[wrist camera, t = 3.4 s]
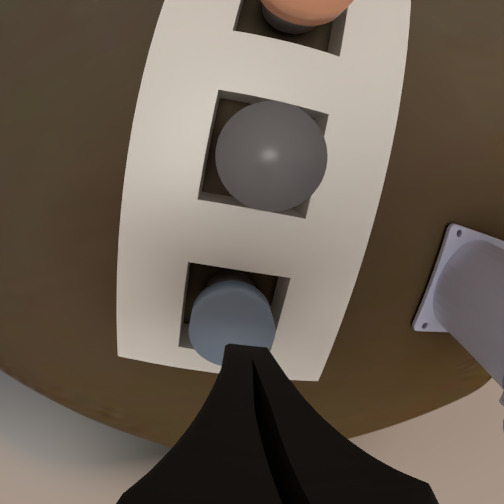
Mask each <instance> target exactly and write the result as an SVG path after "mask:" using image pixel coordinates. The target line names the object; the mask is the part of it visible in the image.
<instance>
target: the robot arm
mask: <svg viewBox="0 0 504 504" xmlns="http://www.w3.org/2000/svg"><path fill="white" fill-rule="evenodd" d="M458 230H459V232H458V234H457V231H458ZM424 323H425V324H424ZM423 324H424V325H423ZM422 325H423V326H422ZM412 327H413V329H414V330H415V331H428V332H449V333H450V334H451V335H452V336H453V337H454V338H455V339H456V340H457V341H458V342H459V343H460V344H461V345H462V346H463V347H464V348H465V349H466V350H467V351H468V352H469V353H470V354H471V355H472V356H473V357H474V358H475V360H476V361H477V362H478V363H479V364H480V365H481V366H482V367H483V368H484V369H485V370H486V371H487V372H488V373H489V374H490V375H491V377H492V378H493V379H494V380H495V381H496V382H497V383H498V384H499V385H500V386H501V387H502V388H503V389H504V241H502V240H500V239H497V238H494V237H492V236H489V235H486V234H483V233H480V232H478V231H475V230H472V229H469V228H466V227H463V226H460V225H457V224H454V223H451V224H450V225H449V226H448V227H447V230H446V233H445V237H444V240H443V243H442V246H441V249H440V252H439V255H438V258H437V261H436V264H435V267H434V270H433V273H432V275H431V278H430V281H429V284H428V286H427V289H426V291H425V294H424V297H423V299H422V302H421V304H420V306H419V309H418V311H417V314H416V316H415V318H414V321H413V323H412ZM499 402H500V403H501V404H502V405H503V406H504V392H503V394H502V396H501V398H500V400H499ZM503 430H504V421H503ZM116 504H439V503H438V501H437V499H436V497H435V495H434V493H433V491H432V489H431V487H430V486H429V484H428V483H426V482H423V481H421V480H418V479H416V478H414V477H411V476H409V475H407V474H404V473H402V472H400V471H398V470H396V469H393V468H392V467H390V466H388V465H386V464H384V463H383V462H381V461H379V460H377V459H376V458H374V457H372V456H371V455H369V454H368V453H366V452H365V451H363V450H362V449H360V448H359V447H357V446H356V445H355V444H353V443H352V442H350V441H349V440H348V439H346V438H345V437H344V436H343V435H341V434H340V433H339V432H338V431H337V430H336V429H334V428H333V427H332V426H331V425H330V424H329V423H328V422H327V421H325V420H324V419H323V418H322V417H321V416H320V415H319V414H318V413H317V412H316V411H315V410H314V409H313V407H312V406H311V405H310V404H309V403H308V402H307V401H306V400H305V398H304V397H303V396H302V395H301V394H300V392H299V391H298V390H297V389H296V387H295V386H294V385H293V383H292V382H291V381H290V380H289V378H288V377H287V376H286V374H285V373H284V371H283V370H282V368H281V367H280V366H279V364H278V363H277V361H276V360H275V358H274V357H273V355H272V354H271V352H270V351H269V349H268V348H267V347H258V346H248V345H239V344H231V343H229V344H227V345H226V346H225V349H224V355H223V360H222V366H221V370H220V372H219V375H218V377H217V380H216V382H215V384H214V386H213V388H212V390H211V392H210V394H209V396H208V398H207V400H206V402H205V403H204V405H203V407H202V408H201V410H200V412H199V413H198V415H197V416H196V418H195V419H194V421H193V422H192V424H191V425H190V426H189V428H188V429H187V430H186V432H185V433H184V434H183V435H182V437H181V438H180V439H179V441H178V442H177V443H176V444H175V445H174V447H173V448H172V449H171V450H170V451H169V452H168V453H167V454H166V455H165V456H164V457H163V458H162V459H161V460H160V461H159V462H158V464H156V465H155V467H154V468H153V469H151V470H150V471H149V472H148V473H147V474H146V475H145V476H144V477H142V478H141V479H140V480H139V481H138V482H137V483H135V484H134V485H133V486H132V487H131V488H129V489H128V490H127V491H126V492H124V493H123V494H122V496H121V497H120V499H119V500H118V502H117V503H116Z"/></svg>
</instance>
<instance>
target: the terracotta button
mask: <svg viewBox="0 0 504 504" xmlns="http://www.w3.org/2000/svg"><path fill="white" fill-rule="evenodd" d="M353 1H354V0H261V2H262V13H263V16H264V18H265V19H266V21H267V22H268V23H269V24H270V25H271V26H272V27H274V28H275V29H277V30H279V31H281V32H284V33H289V34H302V33H306V32H308V31H310V30H312V29H313V28H314V27H315V26H317V25H322V24H326V23H329V22H331V21H333V20H334V19H336V18H337V17H338V16H339V15H340V14H341V13H342V12H343V11H344V10H345V9H346V8H347V7H348V6H349V5H350V4H351V3H352V2H353Z"/></svg>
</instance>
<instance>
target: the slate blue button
mask: <svg viewBox="0 0 504 504" xmlns="http://www.w3.org/2000/svg"><path fill="white" fill-rule="evenodd" d="M189 338H190V342H191V344H192V346H193V348H194V349H195V351H196V352H197V353H198V354H199V355H200V356H201V357H203V358H204V359H205V360H207V361H209V362H211V363H214V364H216V365H220V366H222V360H223V355H224V349H225V346H226V345H227V344H229V343H231V344H239V345H248V346H258V347H267V348H268V349H270V347H271V345H272V344H273V341H274V338H275V324H274V320H273V316H272V313H271V309H270V305H269V303H268V300H267V299H266V297H265V296H264V294H263V293H262V292H261V291H260V290H258V289H257V288H256V287H255V284H254V282H253V281H252V280H251V278H250V277H249V276H247V275H246V274H244V273H242V272H239V271H235V270H226V271H222V272H219V273H217V274H215V275H214V276H213V277H212V278H211V279H210V280H209V281H208V283H207V284H206V287H205V289H204V290H203V291H202V292H201V293H200V294H199V295H198V297H197V298H196V300H195V302H194V304H193V308H192V313H191V318H190V324H189Z"/></svg>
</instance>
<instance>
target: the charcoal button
mask: <svg viewBox="0 0 504 504" xmlns="http://www.w3.org/2000/svg"><path fill="white" fill-rule="evenodd" d="M327 156H328V154H327V146H326V142H325V139H324V136H323V134H322V132H321V130H320V128H319V126H318V125H317V124H316V122H315V121H314V120H313V119H312V118H311V117H310V116H309V115H308V114H307V113H305V112H304V111H303V110H301V109H299V108H298V107H296V106H293V105H291V104H288V103H284V102H279V101H264V102H258V103H254V104H252V105H249V106H247V107H245V108H243V109H241V110H240V111H238V112H237V113H236V114H234V115H233V116H232V117H231V118H230V119H229V121H228V122H227V123H226V124H225V126H224V127H223V129H222V131H221V133H220V135H219V138H218V141H217V145H216V152H215V159H216V167H217V171H218V174H219V177H220V179H221V181H222V183H223V185H224V186H225V188H226V189H227V190H228V192H229V193H230V194H231V195H232V196H233V197H234V198H235V199H237V200H238V201H239V202H241V203H243V204H244V205H246V206H248V207H251V208H253V209H257V210H261V211H268V212H276V211H283V210H287V209H290V208H293V207H295V206H297V205H299V204H301V203H303V202H304V201H305V200H307V199H308V198H309V197H310V196H311V195H312V194H313V193H314V192H315V191H316V189H317V188H318V187H319V185H320V183H321V182H322V179H323V177H324V174H325V171H326V167H327Z"/></svg>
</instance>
